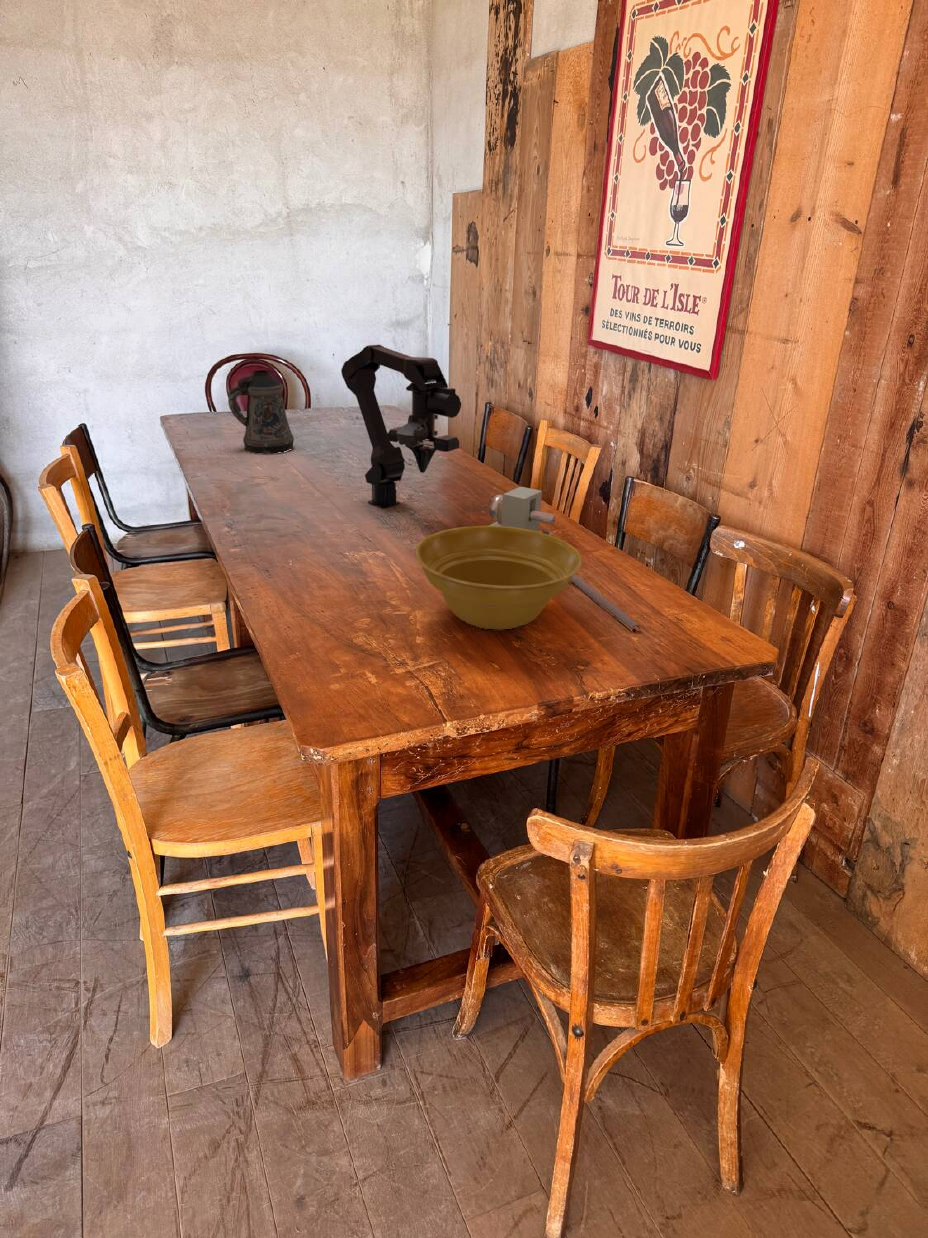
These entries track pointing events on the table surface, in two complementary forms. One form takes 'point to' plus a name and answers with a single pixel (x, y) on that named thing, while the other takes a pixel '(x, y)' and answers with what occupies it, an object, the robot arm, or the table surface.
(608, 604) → the metal rod
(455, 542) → the planter bowl
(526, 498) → the bearing block
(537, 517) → the shaft
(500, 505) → the spacer collar
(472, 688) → the table surface
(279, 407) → the beer stein
